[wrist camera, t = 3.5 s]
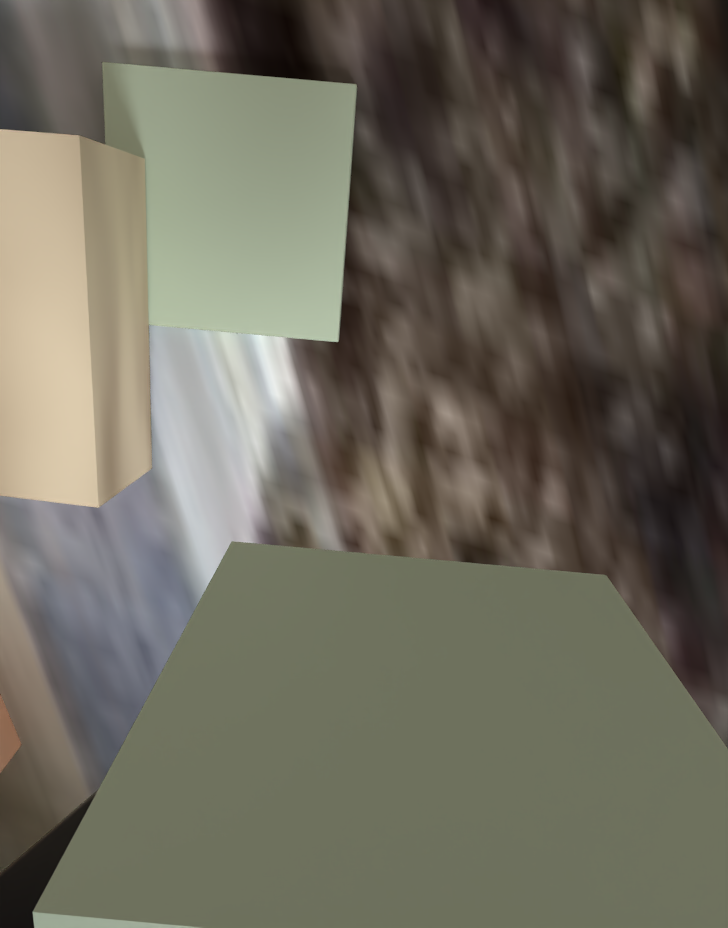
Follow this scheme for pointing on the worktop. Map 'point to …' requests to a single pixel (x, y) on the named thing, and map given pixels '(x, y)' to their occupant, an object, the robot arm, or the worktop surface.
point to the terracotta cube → (7, 737)
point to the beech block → (72, 319)
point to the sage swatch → (239, 195)
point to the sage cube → (405, 760)
